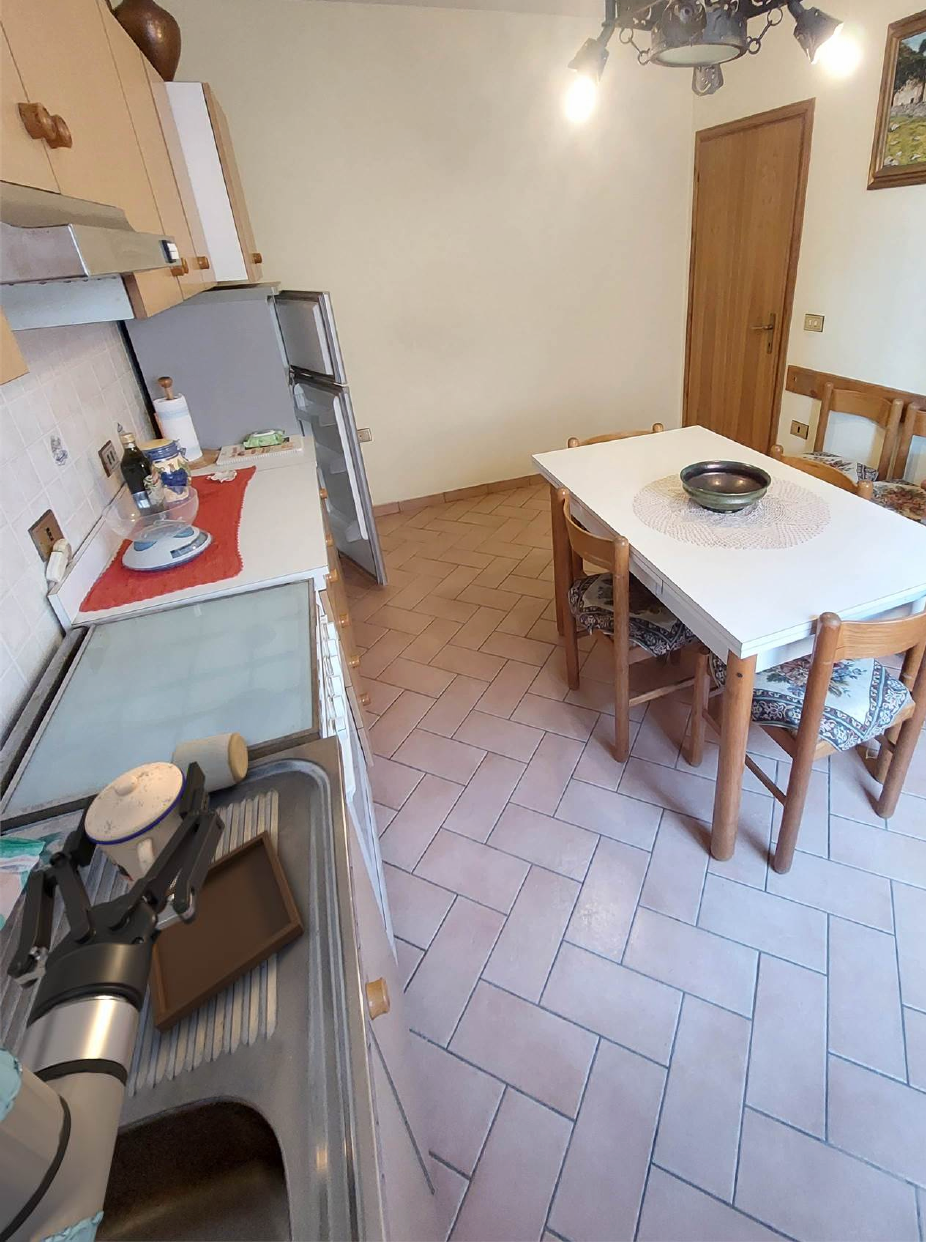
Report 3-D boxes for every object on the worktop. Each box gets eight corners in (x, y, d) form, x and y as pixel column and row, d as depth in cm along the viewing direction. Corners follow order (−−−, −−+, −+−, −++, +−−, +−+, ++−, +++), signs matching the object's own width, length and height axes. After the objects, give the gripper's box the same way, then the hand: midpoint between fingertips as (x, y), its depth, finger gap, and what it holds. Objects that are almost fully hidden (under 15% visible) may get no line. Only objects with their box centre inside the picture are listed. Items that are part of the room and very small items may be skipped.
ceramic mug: (246, 792, 83) (228, 756, 80) (184, 811, 82) (162, 775, 78) (256, 736, 93) (240, 701, 89) (200, 752, 91) (181, 717, 87)
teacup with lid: (120, 842, 66) (72, 775, 61) (207, 797, 71) (169, 731, 65) (122, 937, 57) (65, 868, 52) (222, 879, 62) (179, 810, 56)
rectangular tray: (146, 915, 70) (139, 907, 69) (271, 837, 77) (266, 829, 76) (161, 1035, 59) (154, 1027, 59) (304, 932, 67) (300, 923, 66)
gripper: (-56, 1113, 44) (51, 846, 63) (249, 981, 50) (264, 772, 69) (-119, 1073, 41) (14, 802, 60) (218, 936, 47) (243, 729, 65)
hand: (149, 786), depth 64 cm, fingers closed on teacup with lid, 9 cm apart
